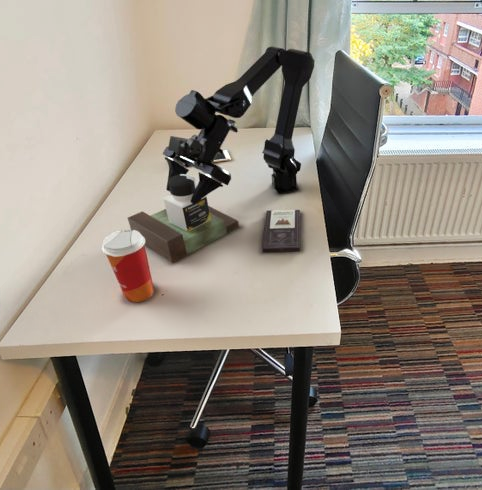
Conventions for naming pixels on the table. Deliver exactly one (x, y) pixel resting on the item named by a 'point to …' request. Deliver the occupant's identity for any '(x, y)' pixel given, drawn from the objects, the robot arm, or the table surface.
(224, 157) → the cell phone
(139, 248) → the paper cup
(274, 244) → the chocolate bar
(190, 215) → the medicine bottle
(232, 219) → the step shelf
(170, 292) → the table surface
